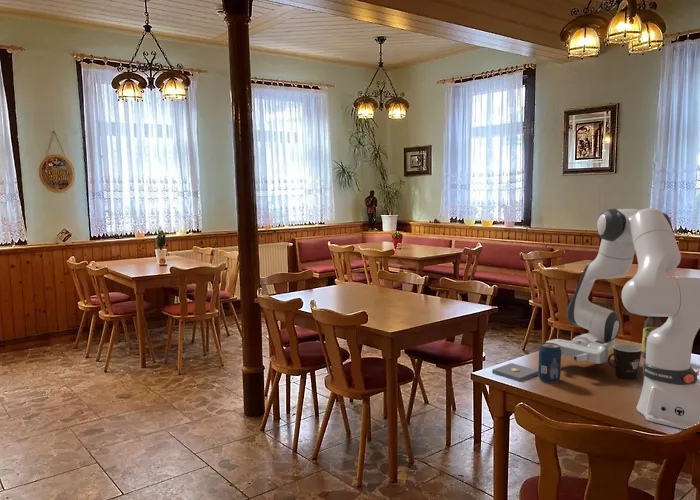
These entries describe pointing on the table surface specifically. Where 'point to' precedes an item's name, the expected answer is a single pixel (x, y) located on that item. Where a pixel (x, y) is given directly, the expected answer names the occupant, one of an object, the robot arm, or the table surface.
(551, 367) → the soda can
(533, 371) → the slate board
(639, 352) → the coffee mug
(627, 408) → the table surface
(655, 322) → the sauce bottle
